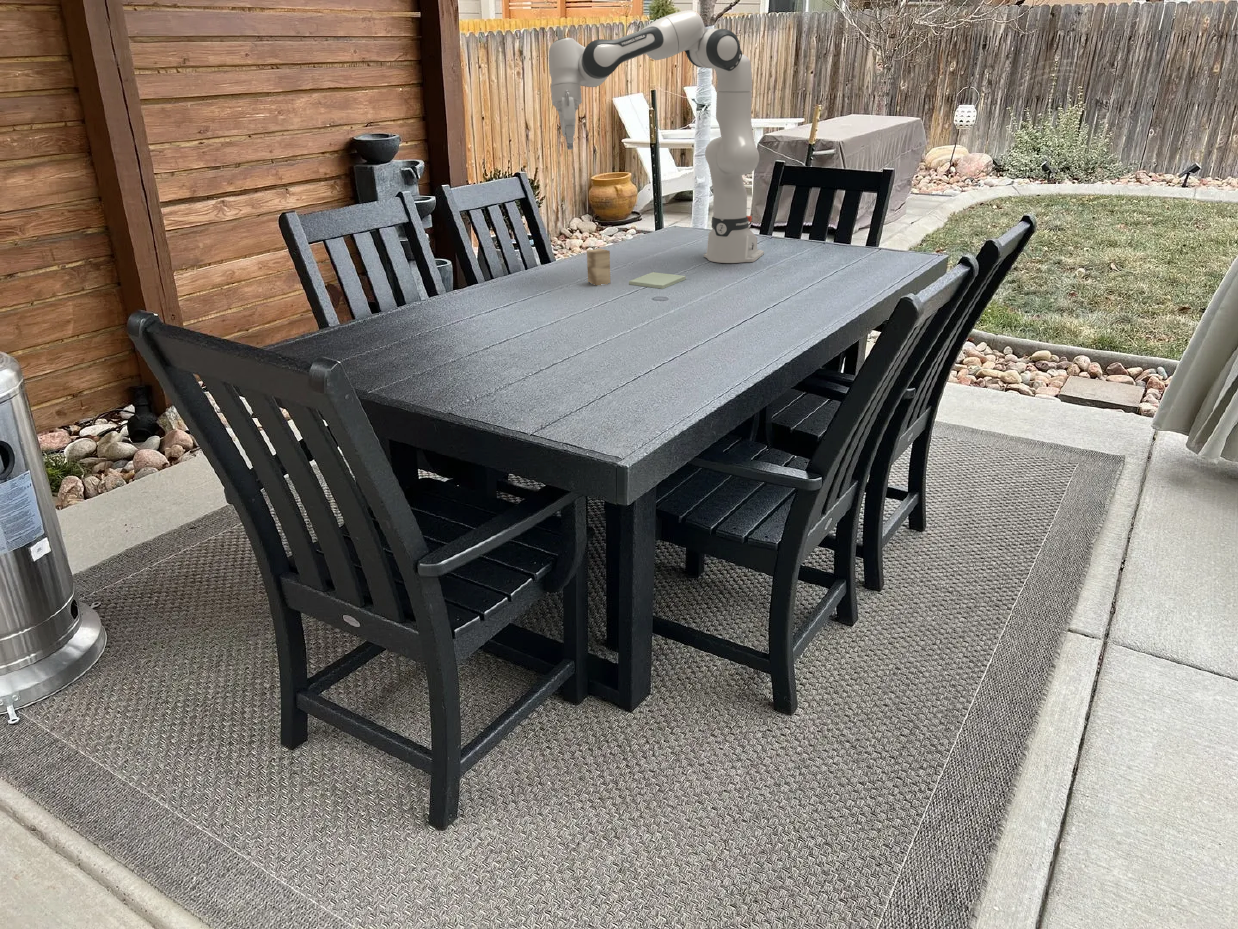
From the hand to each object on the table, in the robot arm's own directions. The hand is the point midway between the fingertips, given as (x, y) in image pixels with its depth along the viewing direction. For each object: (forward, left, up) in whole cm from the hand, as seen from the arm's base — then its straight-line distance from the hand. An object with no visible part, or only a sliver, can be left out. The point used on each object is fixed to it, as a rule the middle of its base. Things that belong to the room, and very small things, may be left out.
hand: (570, 146), depth 273 cm
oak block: (+1, +10, -40) cm, 41 cm away
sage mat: (-9, +25, -40) cm, 48 cm away
